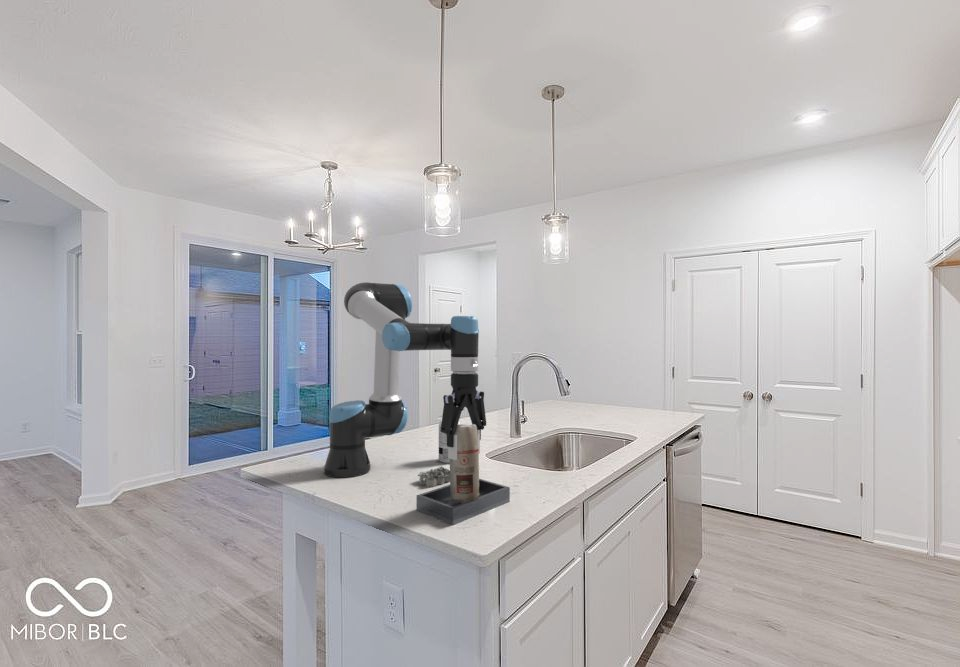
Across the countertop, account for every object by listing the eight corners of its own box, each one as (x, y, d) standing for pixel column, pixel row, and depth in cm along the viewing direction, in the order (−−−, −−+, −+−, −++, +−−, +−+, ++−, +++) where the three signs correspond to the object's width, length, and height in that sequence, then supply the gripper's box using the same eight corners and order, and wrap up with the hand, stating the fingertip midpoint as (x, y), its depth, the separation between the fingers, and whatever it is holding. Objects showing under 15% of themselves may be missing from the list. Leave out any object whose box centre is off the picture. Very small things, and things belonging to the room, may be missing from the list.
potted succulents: (429, 489, 142) (429, 475, 142) (415, 483, 147) (415, 470, 147) (456, 481, 149) (456, 468, 149) (442, 476, 155) (442, 464, 155)
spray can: (443, 499, 125) (444, 425, 125) (456, 490, 133) (456, 420, 133) (472, 504, 122) (473, 427, 122) (483, 494, 130) (484, 422, 130)
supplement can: (438, 458, 176) (438, 418, 177) (460, 457, 177) (460, 418, 177) (438, 464, 168) (438, 422, 168) (461, 463, 169) (461, 422, 169)
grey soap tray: (453, 525, 114) (453, 508, 114) (416, 510, 124) (416, 495, 124) (509, 501, 131) (509, 487, 131) (473, 490, 140) (473, 476, 140)
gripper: (446, 375, 117) (445, 466, 117) (499, 371, 132) (499, 451, 132) (426, 373, 122) (426, 460, 122) (480, 369, 138) (480, 446, 138)
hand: (464, 455), depth 127 cm, fingers closed on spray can, 8 cm apart
